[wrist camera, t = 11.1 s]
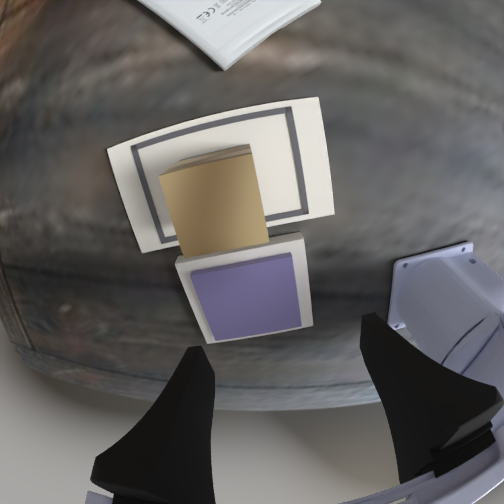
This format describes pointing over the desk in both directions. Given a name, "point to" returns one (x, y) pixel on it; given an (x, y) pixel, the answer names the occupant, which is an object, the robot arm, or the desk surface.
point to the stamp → (215, 202)
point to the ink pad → (249, 289)
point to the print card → (223, 137)
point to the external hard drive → (228, 23)
